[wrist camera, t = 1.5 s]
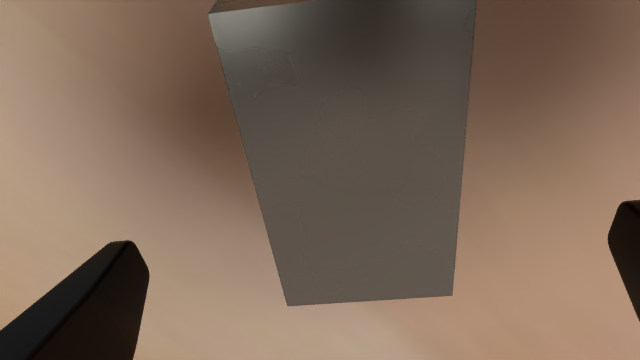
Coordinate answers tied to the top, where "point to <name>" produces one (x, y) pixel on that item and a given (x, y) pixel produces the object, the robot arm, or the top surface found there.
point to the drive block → (353, 138)
